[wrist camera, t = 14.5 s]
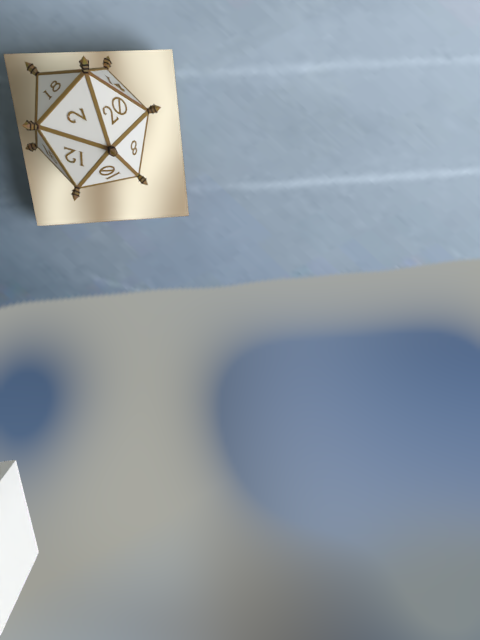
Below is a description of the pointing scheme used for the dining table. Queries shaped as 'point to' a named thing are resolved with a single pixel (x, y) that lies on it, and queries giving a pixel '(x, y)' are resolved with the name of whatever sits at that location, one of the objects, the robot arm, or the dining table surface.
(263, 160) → the dining table surface
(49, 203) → the birch base
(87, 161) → the game die
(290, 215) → the dining table surface
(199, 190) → the dining table surface
